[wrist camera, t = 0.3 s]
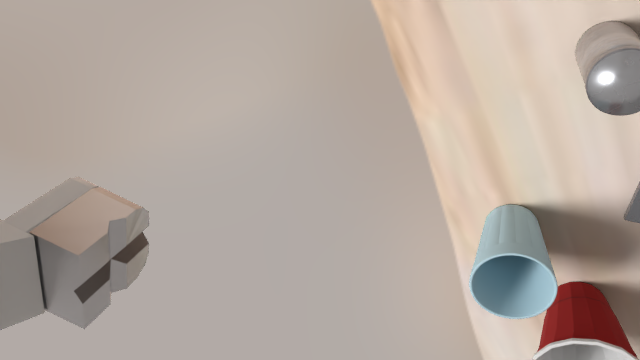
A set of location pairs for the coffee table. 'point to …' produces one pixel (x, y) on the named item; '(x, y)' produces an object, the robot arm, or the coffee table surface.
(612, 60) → the metal cylinder
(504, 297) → the cup
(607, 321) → the plastic cup
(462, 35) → the coffee table surface
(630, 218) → the flange
